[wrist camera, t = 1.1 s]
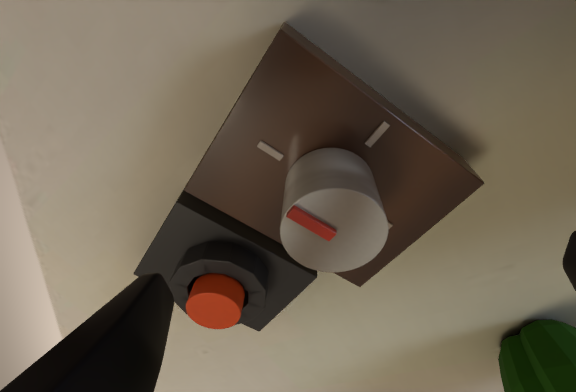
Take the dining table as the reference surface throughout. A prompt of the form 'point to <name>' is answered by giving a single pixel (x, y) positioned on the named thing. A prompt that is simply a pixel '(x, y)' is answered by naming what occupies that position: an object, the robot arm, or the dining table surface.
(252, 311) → the button box
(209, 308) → the red button
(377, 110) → the dial panel
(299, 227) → the dial
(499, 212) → the dining table surface
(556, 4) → the dining table surface
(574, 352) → the bell pepper
